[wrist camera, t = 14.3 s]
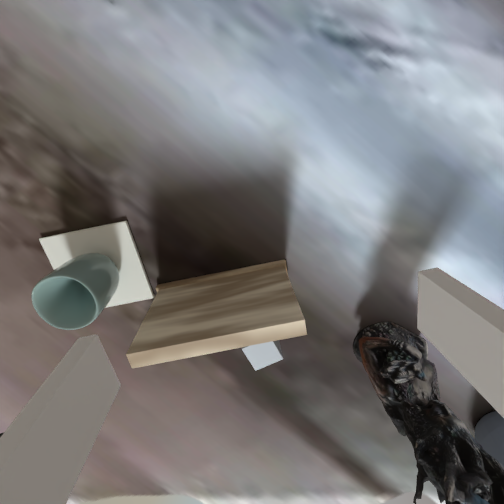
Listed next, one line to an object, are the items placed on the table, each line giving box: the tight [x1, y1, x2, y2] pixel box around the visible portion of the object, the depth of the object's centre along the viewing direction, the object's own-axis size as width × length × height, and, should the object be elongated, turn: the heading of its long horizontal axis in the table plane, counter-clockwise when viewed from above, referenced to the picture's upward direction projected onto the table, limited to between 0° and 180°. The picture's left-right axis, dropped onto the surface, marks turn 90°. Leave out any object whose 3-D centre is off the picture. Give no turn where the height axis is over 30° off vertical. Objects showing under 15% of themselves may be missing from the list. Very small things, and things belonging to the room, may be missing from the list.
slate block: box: [242, 340, 283, 371], centre depth 49 cm, size 5×5×5 cm
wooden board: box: [126, 259, 307, 368], centre depth 40 cm, size 3×21×16 cm, turn 101°
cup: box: [32, 253, 120, 330], centre depth 40 cm, size 8×8×10 cm
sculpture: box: [353, 322, 504, 504], centre depth 40 cm, size 14×15×30 cm
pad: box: [39, 220, 154, 308], centre depth 45 cm, size 13×13×1 cm
